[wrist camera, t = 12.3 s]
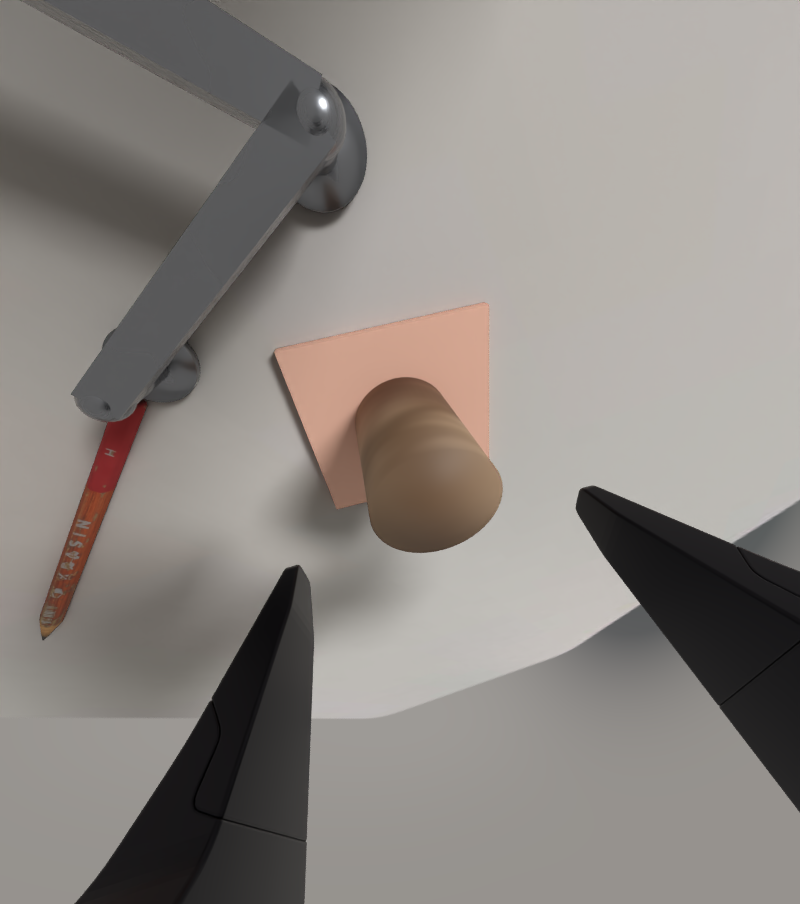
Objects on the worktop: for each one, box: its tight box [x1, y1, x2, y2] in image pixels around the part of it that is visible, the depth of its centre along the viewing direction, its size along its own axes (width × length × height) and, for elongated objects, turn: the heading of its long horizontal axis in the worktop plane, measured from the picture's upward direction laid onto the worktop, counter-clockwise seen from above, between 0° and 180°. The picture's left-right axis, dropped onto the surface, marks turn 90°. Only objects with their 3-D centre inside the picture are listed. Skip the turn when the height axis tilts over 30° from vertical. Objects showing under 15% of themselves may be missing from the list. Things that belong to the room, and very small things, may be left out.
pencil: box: [40, 399, 147, 640], centre depth 16 cm, size 19×1×1 cm, turn 144°
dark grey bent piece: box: [21, 0, 367, 422], centre depth 8 cm, size 11×13×4 cm
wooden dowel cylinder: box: [355, 377, 503, 553], centre depth 13 cm, size 5×5×6 cm
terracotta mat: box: [274, 303, 489, 509], centre depth 16 cm, size 9×9×1 cm
